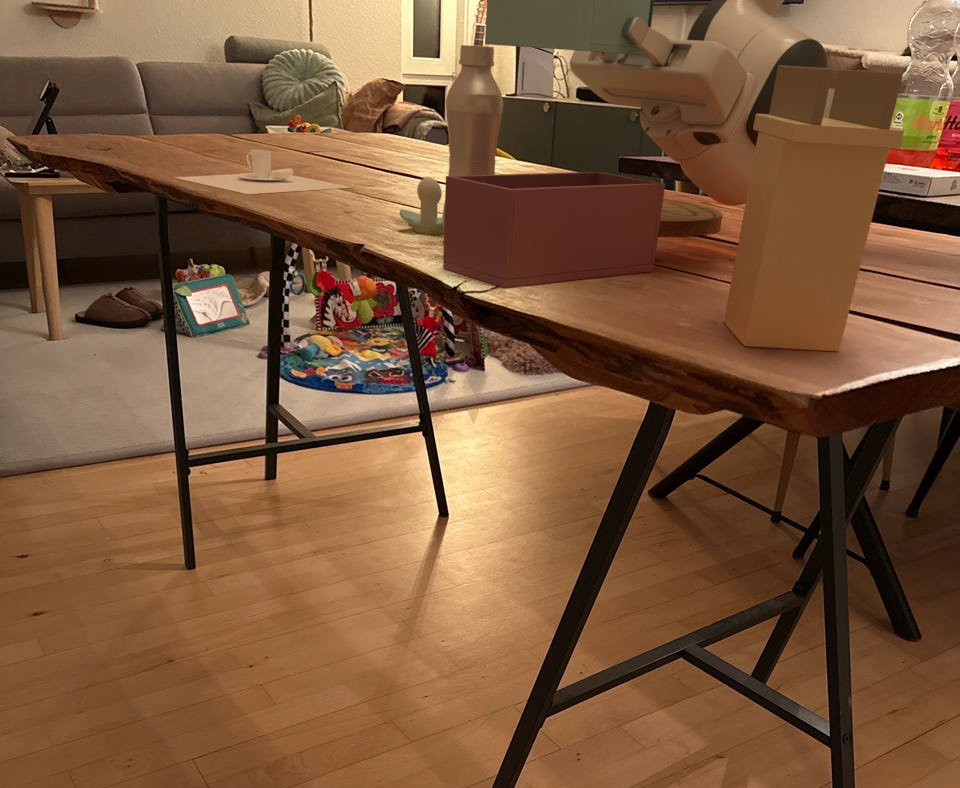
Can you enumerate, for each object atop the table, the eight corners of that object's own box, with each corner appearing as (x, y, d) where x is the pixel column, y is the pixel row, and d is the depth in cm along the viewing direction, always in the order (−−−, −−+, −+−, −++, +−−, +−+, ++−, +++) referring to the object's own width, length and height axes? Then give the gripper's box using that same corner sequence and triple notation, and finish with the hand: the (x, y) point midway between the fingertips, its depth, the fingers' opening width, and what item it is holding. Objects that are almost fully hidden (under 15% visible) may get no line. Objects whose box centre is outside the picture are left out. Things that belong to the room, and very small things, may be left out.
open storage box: (589, 254, 112) (598, 171, 108) (653, 271, 106) (665, 183, 101) (442, 268, 101) (445, 175, 96) (503, 288, 94) (510, 189, 90)
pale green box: (622, 53, 99) (629, -5, 96) (647, 55, 97) (655, -5, 94) (484, 44, 89) (487, -22, 87) (509, 45, 87) (513, -22, 84)
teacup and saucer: (301, 182, 154) (300, 153, 151) (260, 184, 149) (258, 155, 146) (268, 175, 159) (267, 147, 156) (227, 177, 153) (225, 149, 151)
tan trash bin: (718, 317, 88) (764, 64, 78) (805, 322, 89) (862, 70, 78) (749, 352, 78) (807, 67, 68) (847, 358, 78) (919, 74, 68)
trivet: (576, 234, 124) (577, 218, 123) (523, 205, 145) (524, 191, 144) (751, 238, 130) (754, 222, 129) (677, 209, 151) (679, 196, 150)
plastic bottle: (460, 250, 110) (468, 45, 100) (431, 239, 115) (436, 43, 105) (506, 247, 113) (519, 48, 103) (476, 237, 118) (485, 46, 108)
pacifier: (410, 226, 123) (395, 232, 118) (411, 172, 120) (396, 175, 115) (465, 232, 122) (452, 237, 117) (468, 177, 119) (455, 181, 114)
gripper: (628, 71, 111) (556, -10, 101) (771, 83, 97) (705, -8, 87) (602, 124, 112) (528, 50, 102) (741, 144, 99) (672, 60, 88)
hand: (611, 23), depth 94 cm, fingers closed on pale green box, 3 cm apart
